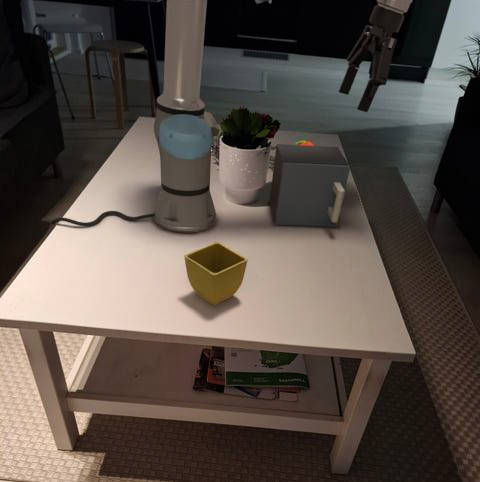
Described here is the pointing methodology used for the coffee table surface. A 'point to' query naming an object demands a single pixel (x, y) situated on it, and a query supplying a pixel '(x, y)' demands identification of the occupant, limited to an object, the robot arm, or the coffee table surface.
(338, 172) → the grey cabinet door
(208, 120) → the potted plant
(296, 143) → the clementine
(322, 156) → the grey box
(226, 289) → the flower pot
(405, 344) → the coffee table surface
